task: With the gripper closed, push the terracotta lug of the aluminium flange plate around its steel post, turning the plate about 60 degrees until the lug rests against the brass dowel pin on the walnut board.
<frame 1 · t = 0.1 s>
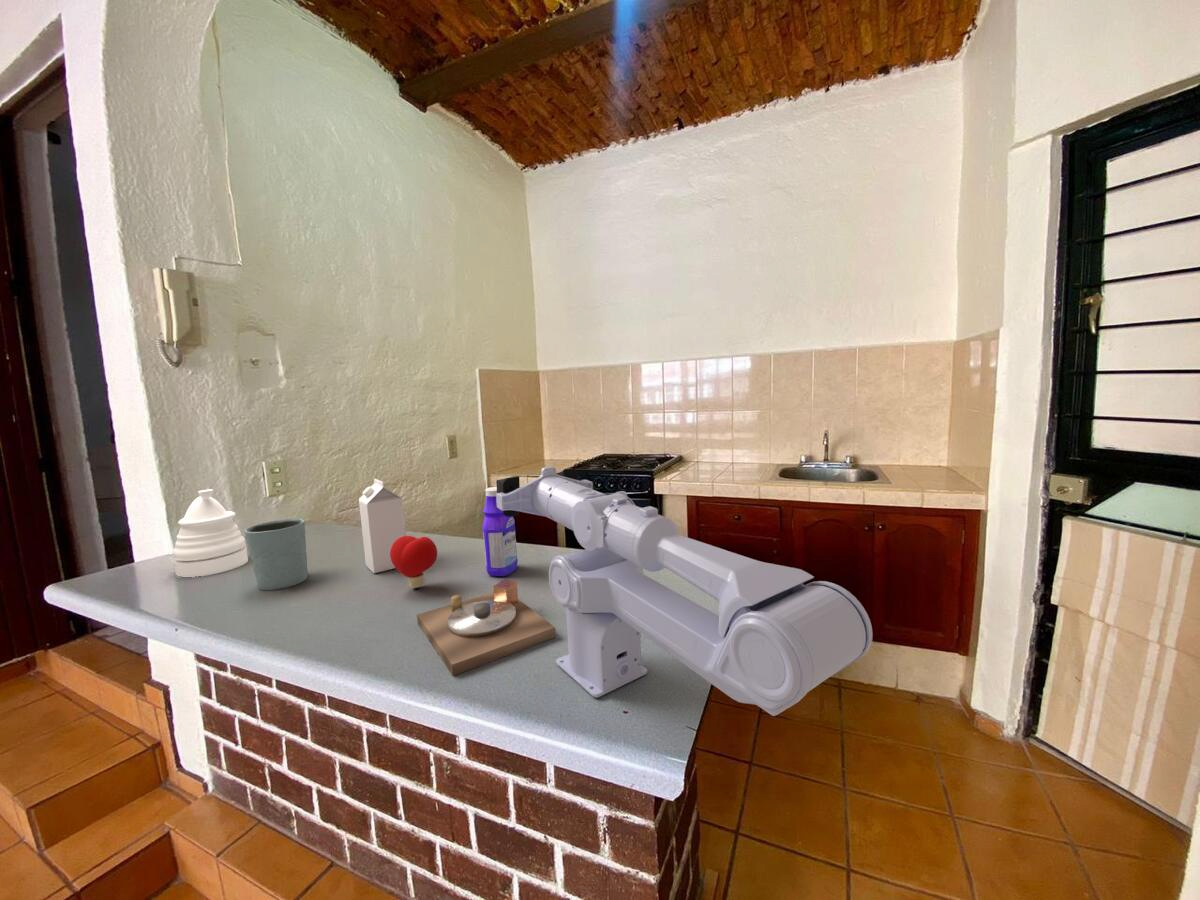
hand: (521, 482, 73), 22 cm above the table, tool horizontal, fingers open, 7 cm apart
teal cylindrical pot: (282, 582, 95), on the table
honey pot: (213, 567, 107), on the table
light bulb: (417, 589, 88), on the table
milk carton: (387, 566, 102), on the table
mounting board: (483, 629, 71), on the table
bottle: (502, 572, 95), on the table
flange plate: (487, 605, 72), point 3 cm above the table, hinge at 0.0°
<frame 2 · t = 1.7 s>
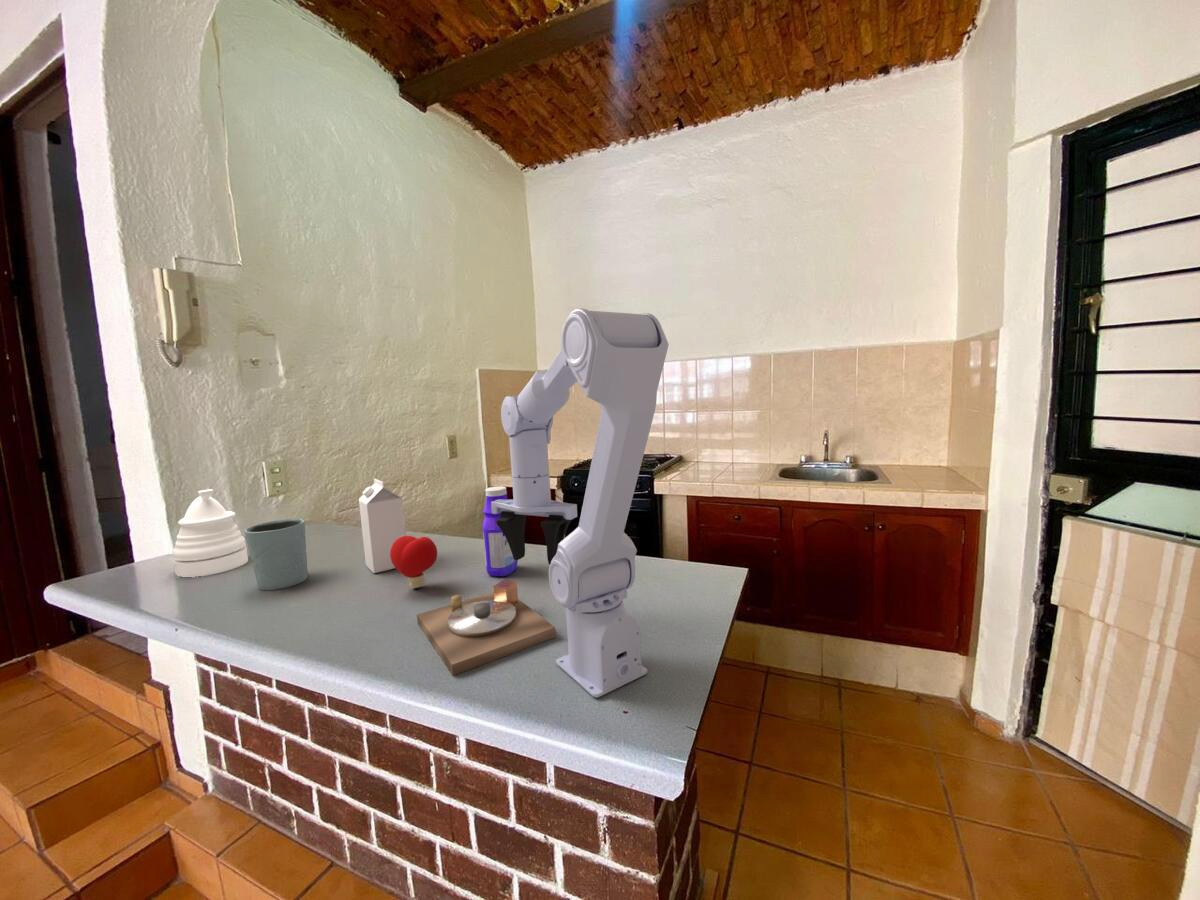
hand: (536, 560, 73), 9 cm above the table, tool pointing down, fingers open, 6 cm apart
nothing on the table moved.
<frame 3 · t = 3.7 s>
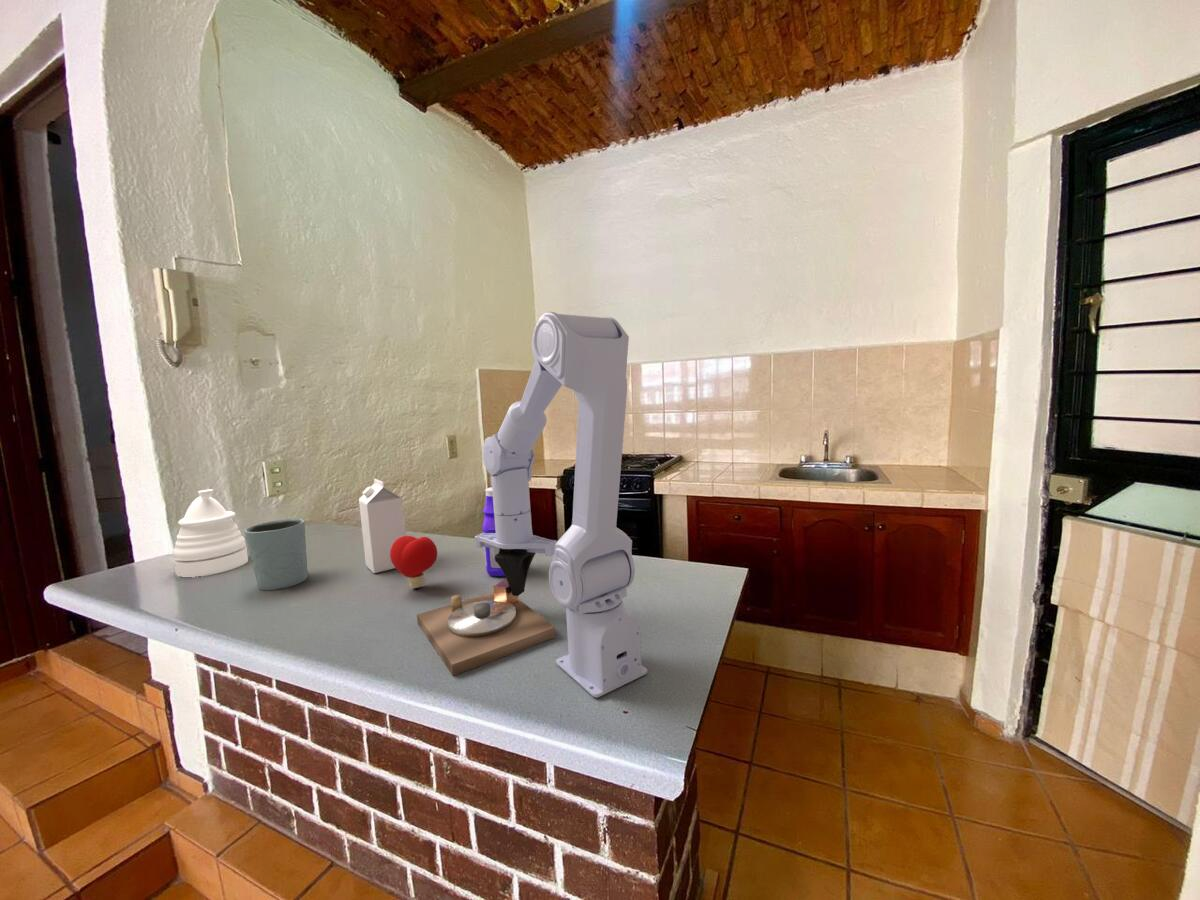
hand: (518, 593, 76), 3 cm above the table, tool pointing down, fingers closed, pressing on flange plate
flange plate: (487, 605, 72), point 3 cm above the table, hinge at 0.0°, touching gripper
everything else where it was.
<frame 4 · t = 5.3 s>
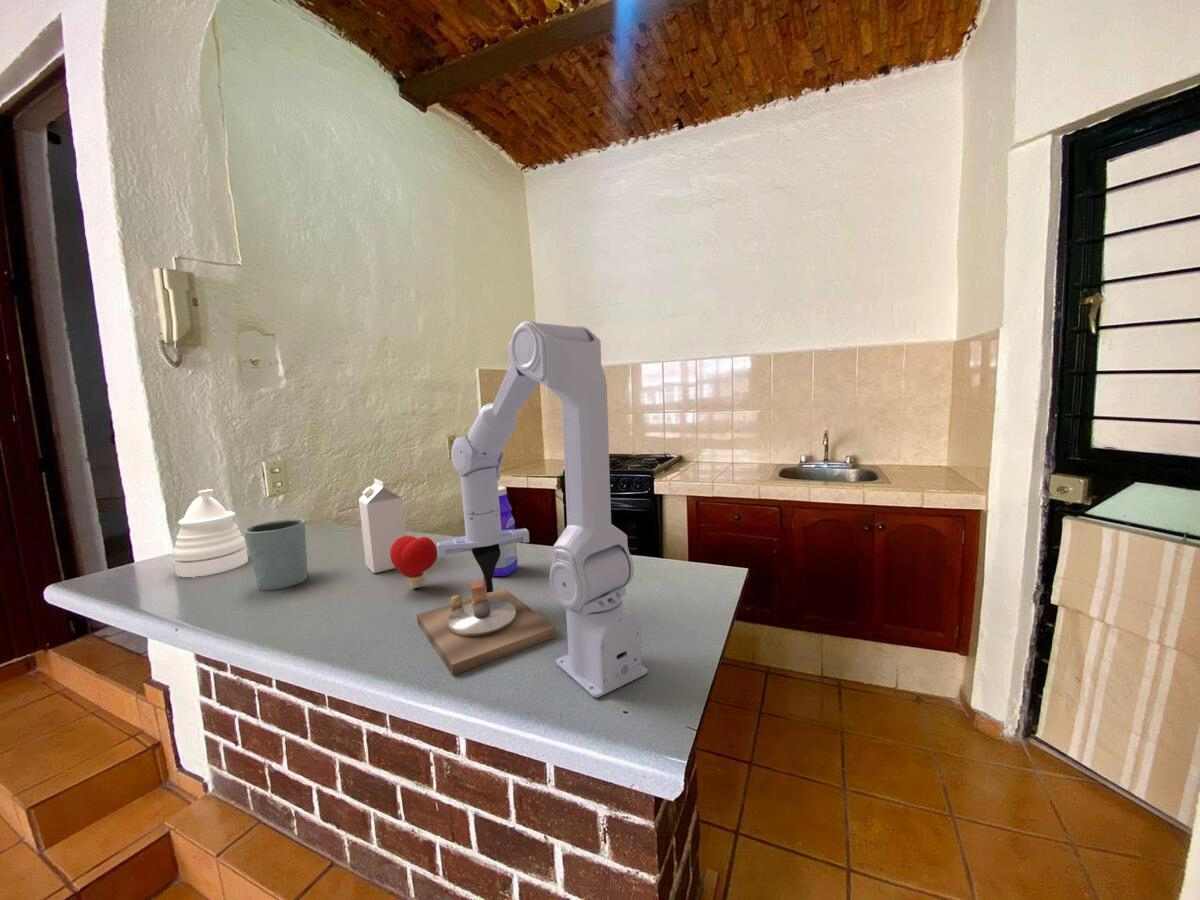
hand: (488, 590, 77), 3 cm above the table, tool pointing down, fingers closed, pressing on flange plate
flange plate: (481, 605, 72), point 3 cm above the table, hinge at 44.2°, touching gripper
everything else where it was.
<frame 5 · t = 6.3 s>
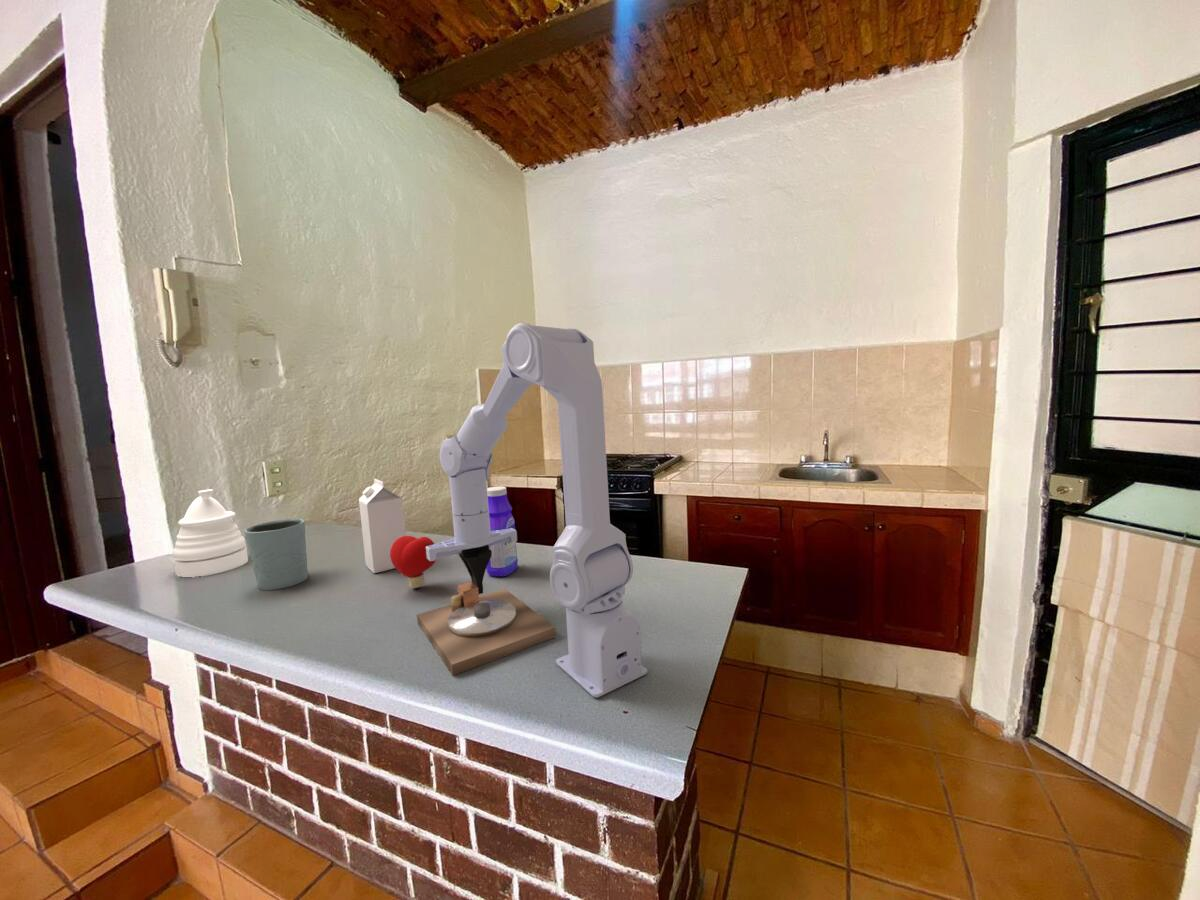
hand: (477, 592, 77), 3 cm above the table, tool pointing down, fingers closed
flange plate: (479, 606, 72), point 3 cm above the table, hinge at 60.1°, touching gripper, mounting board
everything else where it was.
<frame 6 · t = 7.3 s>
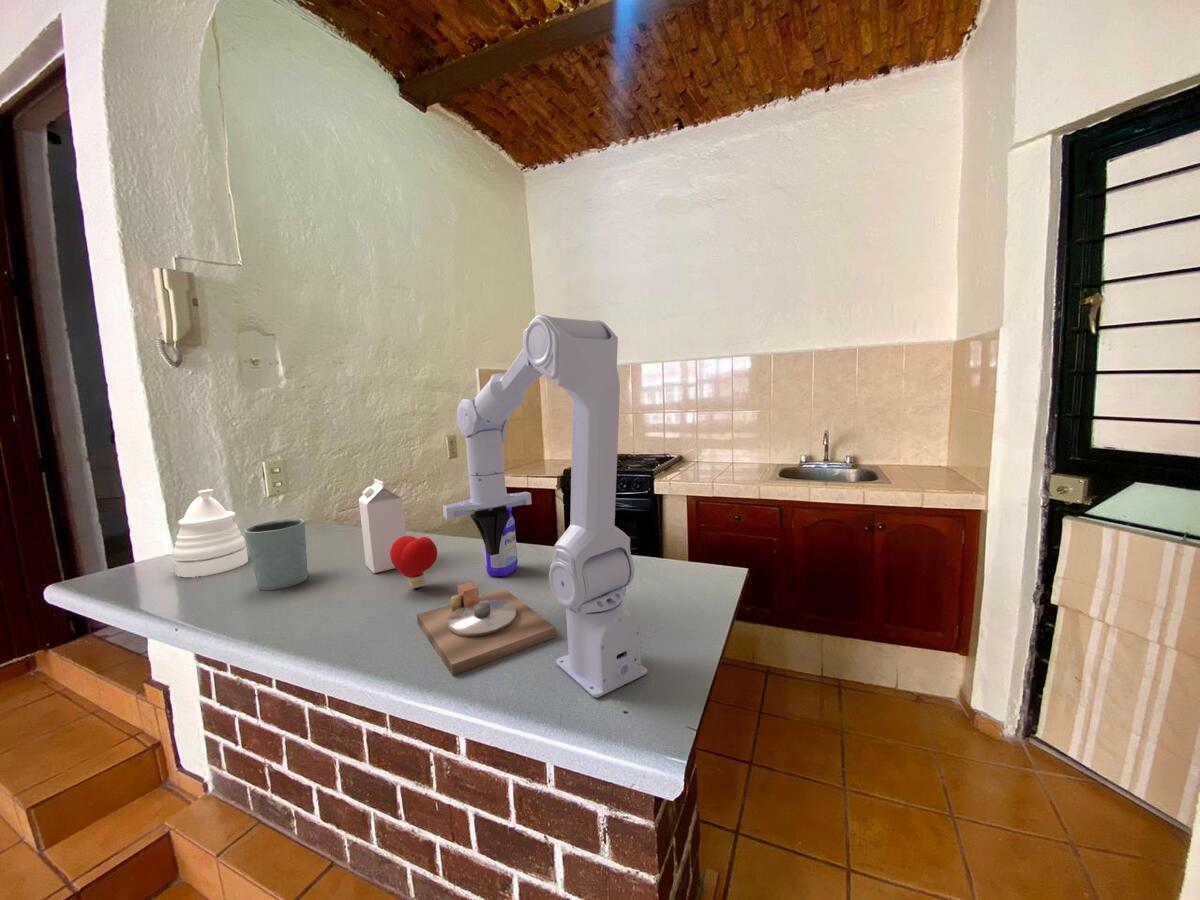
hand: (492, 553, 78), 9 cm above the table, tool pointing down, fingers closed
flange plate: (479, 606, 72), point 3 cm above the table, hinge at 60.1°, touching mounting board
everything else where it was.
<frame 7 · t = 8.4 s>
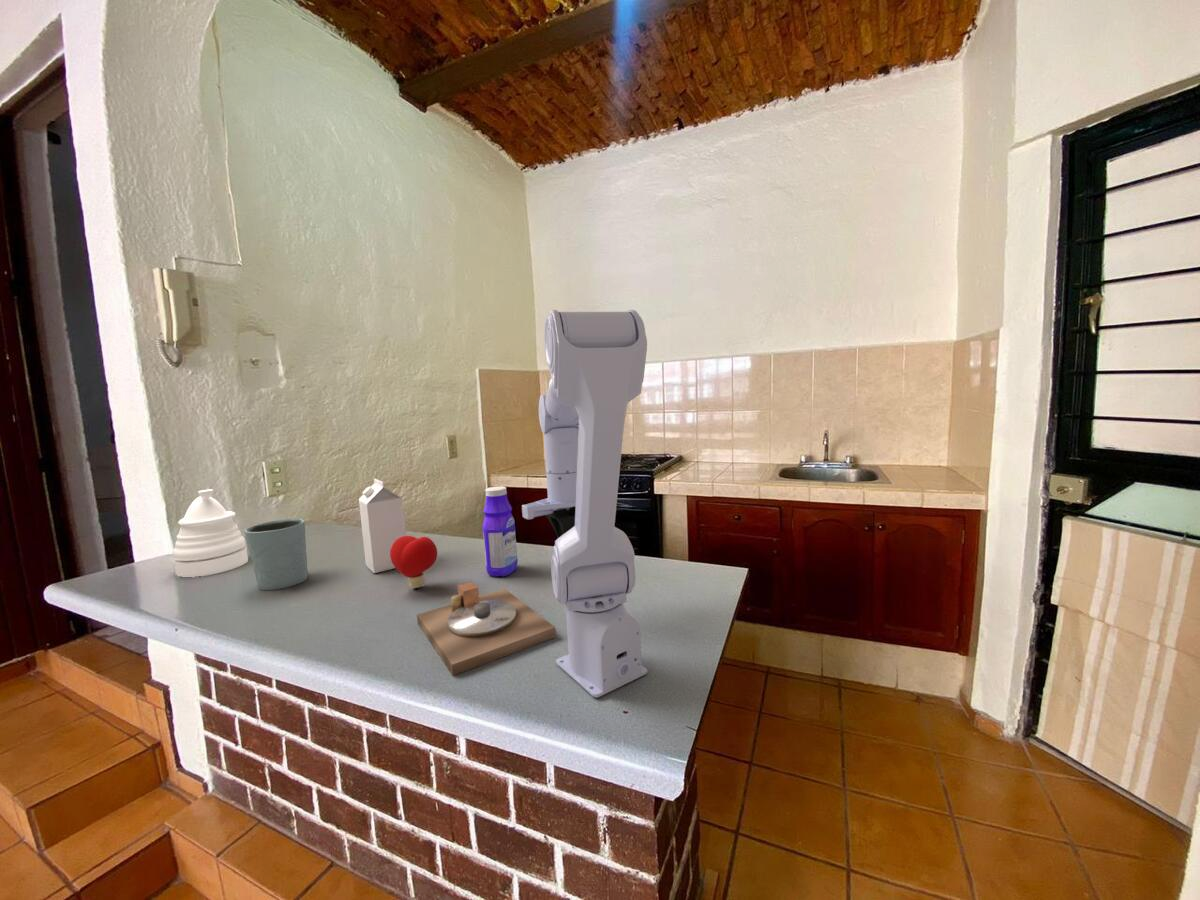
hand: (569, 554, 75), 9 cm above the table, tool pointing down, fingers closed
nothing on the table moved.
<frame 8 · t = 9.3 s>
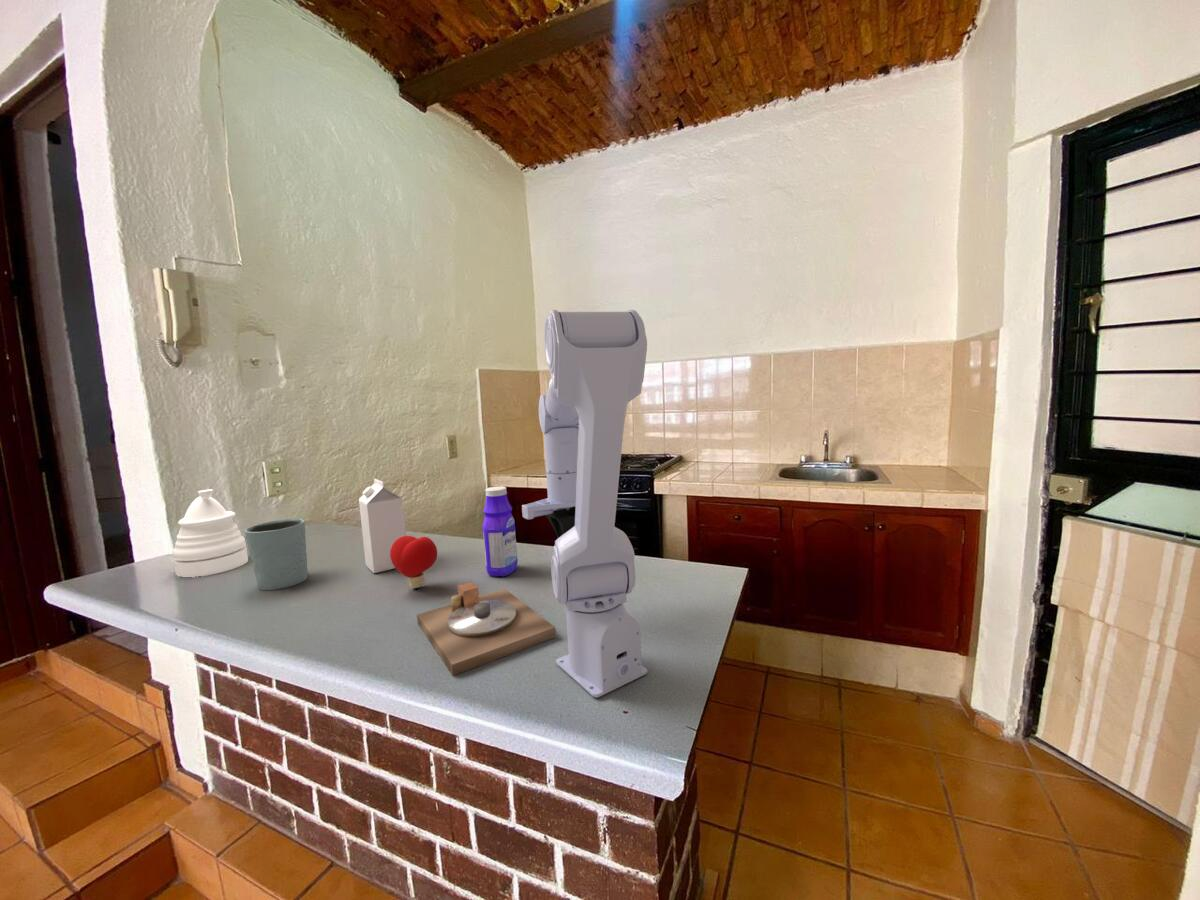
hand: (569, 554, 75), 9 cm above the table, tool pointing down, fingers closed
nothing on the table moved.
at the end: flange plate at +60° (first picture: +0°); bottle moved 0.2 cm from its start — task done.
